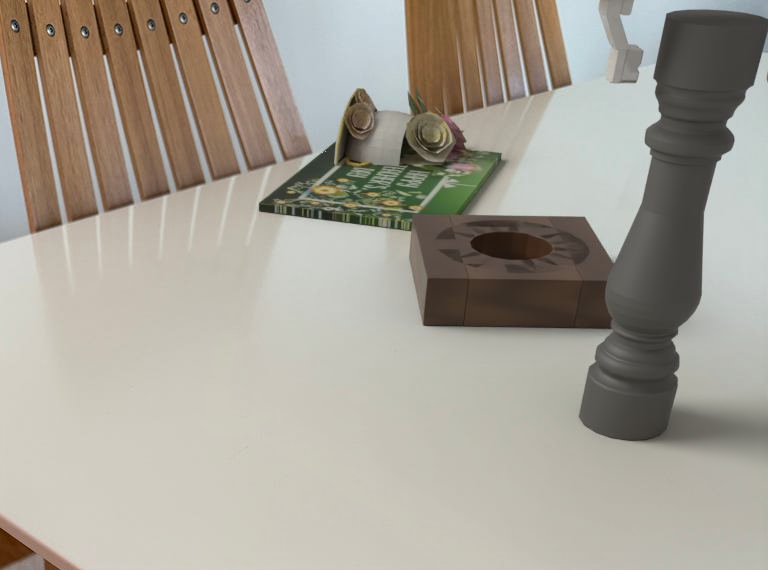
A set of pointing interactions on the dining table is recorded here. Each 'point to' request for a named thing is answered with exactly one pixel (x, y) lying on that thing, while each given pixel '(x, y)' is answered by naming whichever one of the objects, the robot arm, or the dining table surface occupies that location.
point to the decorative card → (386, 169)
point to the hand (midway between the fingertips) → (701, 83)
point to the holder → (509, 271)
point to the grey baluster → (670, 219)
